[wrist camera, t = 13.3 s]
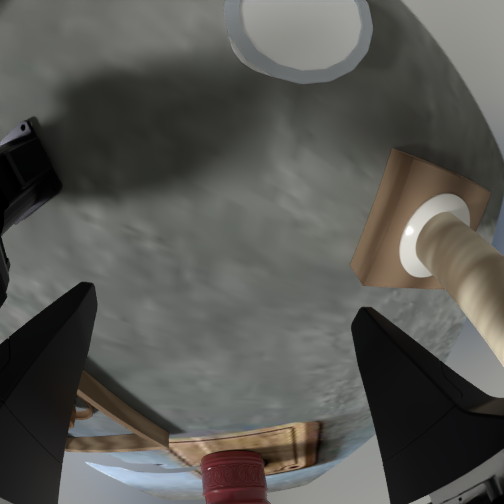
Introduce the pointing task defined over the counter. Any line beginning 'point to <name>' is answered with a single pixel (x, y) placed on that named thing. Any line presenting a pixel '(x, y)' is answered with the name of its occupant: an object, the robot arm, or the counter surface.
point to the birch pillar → (467, 273)
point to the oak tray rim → (119, 411)
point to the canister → (234, 478)
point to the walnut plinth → (411, 220)
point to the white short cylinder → (299, 37)
